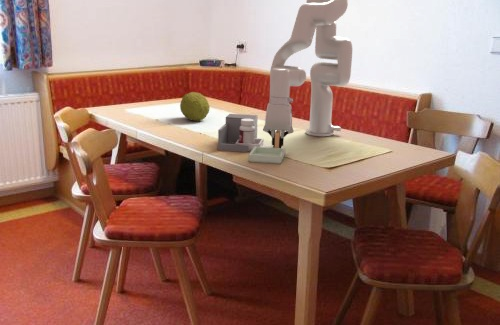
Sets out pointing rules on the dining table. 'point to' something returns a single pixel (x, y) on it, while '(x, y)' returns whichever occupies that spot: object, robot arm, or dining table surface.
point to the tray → (267, 155)
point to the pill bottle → (247, 131)
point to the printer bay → (233, 133)
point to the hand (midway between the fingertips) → (277, 146)
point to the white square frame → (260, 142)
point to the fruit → (194, 106)
